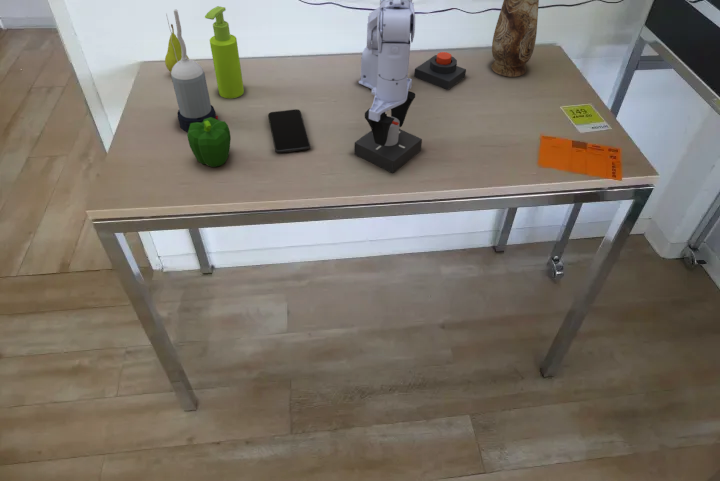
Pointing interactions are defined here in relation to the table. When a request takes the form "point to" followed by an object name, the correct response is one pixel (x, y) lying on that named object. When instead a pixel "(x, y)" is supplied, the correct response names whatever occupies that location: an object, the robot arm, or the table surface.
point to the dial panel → (388, 150)
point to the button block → (440, 73)
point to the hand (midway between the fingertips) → (388, 134)
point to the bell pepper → (210, 141)
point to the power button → (443, 58)
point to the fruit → (170, 56)
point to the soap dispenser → (225, 56)
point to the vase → (514, 36)
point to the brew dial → (393, 133)
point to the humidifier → (190, 87)
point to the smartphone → (288, 131)
